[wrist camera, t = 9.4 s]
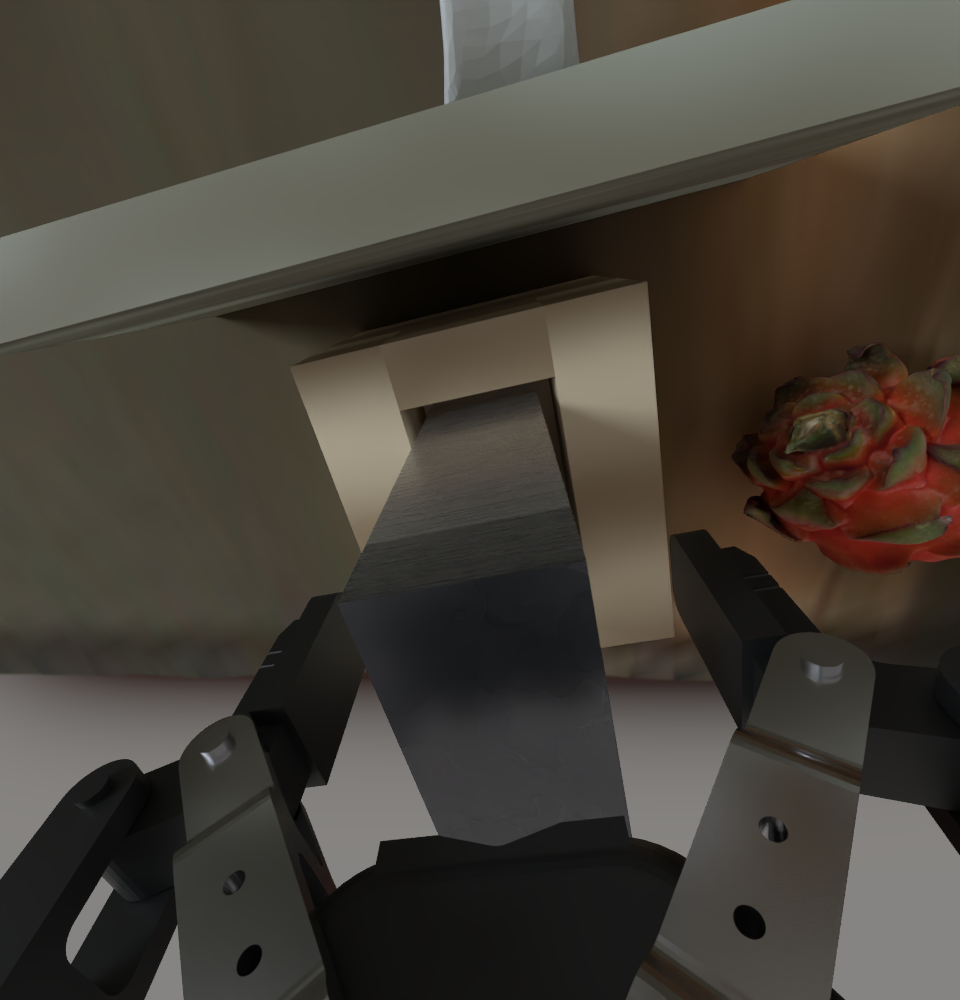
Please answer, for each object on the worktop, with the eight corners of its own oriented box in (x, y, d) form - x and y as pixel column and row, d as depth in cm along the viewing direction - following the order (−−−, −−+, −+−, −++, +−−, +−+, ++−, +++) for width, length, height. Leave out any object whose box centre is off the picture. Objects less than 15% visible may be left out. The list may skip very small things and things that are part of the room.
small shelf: (198, 279, 20) (-205, 298, 9) (747, 130, 18) (1238, -135, 6) (328, 581, 27) (197, 825, 15) (747, 507, 24) (982, 736, 12)
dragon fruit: (680, 398, 24) (899, 408, 25) (695, 577, 22) (927, 576, 24) (826, 293, 15) (1140, 319, 17) (866, 571, 14) (1207, 570, 15)
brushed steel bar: (436, 397, 18) (337, 604, 7) (531, 375, 17) (586, 560, 6) (479, 558, 21) (459, 881, 10) (562, 543, 20) (636, 865, 9)
